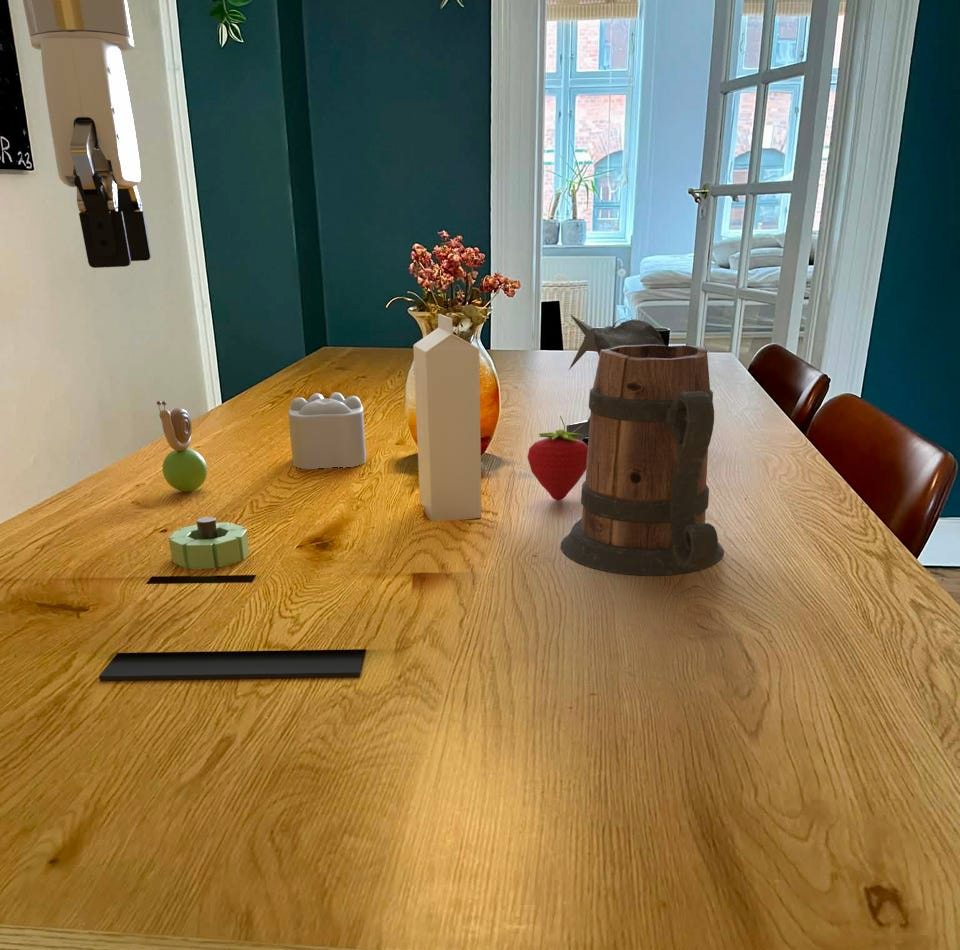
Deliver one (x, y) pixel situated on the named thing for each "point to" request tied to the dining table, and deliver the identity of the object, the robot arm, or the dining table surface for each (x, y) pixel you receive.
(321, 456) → the lumpy-topped squat cylinder
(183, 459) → the snail figurine
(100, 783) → the dining table surface
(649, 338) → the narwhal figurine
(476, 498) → the milk
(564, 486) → the strawberry
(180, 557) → the ring
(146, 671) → the mat
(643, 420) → the tankard
